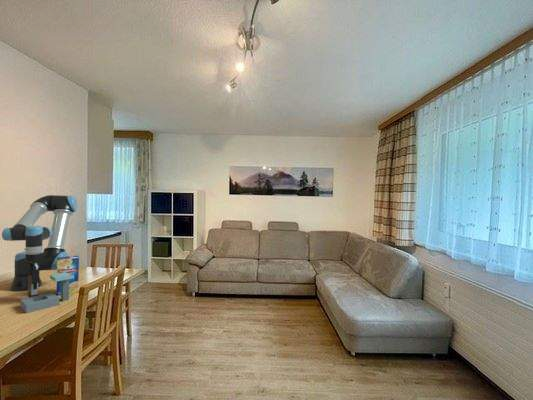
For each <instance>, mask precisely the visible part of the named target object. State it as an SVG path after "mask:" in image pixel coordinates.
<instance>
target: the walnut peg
mask: <svg viewBox="0 0 533 400" xmlns="http://www.w3.org/2000/svg"><path fill="white" fill-rule="evenodd" d="M31 283H32V275H30V276H29V277H28V290H27V296H28V297H27V298H29V297H34V296H39V293H38V294H36V295H31Z"/></svg>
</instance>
